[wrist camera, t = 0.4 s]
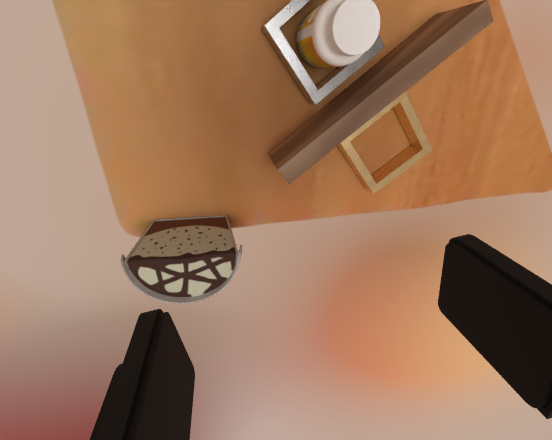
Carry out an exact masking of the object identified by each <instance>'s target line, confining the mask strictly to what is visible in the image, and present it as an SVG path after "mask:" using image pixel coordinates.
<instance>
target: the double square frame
mask: <svg viewBox="0 0 552 440" xmlns="http://www.w3.org/2000/svg"><path fill="white" fill-rule="evenodd" d="M309 1H310V0H292V1H291V2H290V3H289V4H288V5H287V6H285V7H284V8H283V9H282V10H281V11H280V12H279V13H278V14H277V15H276V16H275V17H274V18H272V19H271V20H270V21H269V22H268V23H267V24H266V25H265V26H264V27H263V28H262V31H263V32H264V34H265V35H266V37H267V39H268V40H269V42H270V43H271V45H272V46H273V48H274V49H275V51H276V52H277V54H278V55H279V57H280V58H281V60H282V61H283V63H284V64H285V66H286V68H287V69H288V71H289V72H290V74H291V75H292V77H293V78H294V80H295V81H296V83H297V84H298V86H299V87H300V89H301V90H302V92H303V94H304V95H305V97H306V98H307V100H308V101H309V103H312V104H315V105H316V104H317V103H318V102H319V101H321V100H322V99H323V98H324V97H325V96H327V95H328V94H329V93H330V92H331V91H333V90H334V89H335V88H336V87H337V86H339V85H340V84H341V83H342V82H343V81H345V80H346V79H347V78H348V77H349V76H351V75H352V74H353V73H354V72H355V71H357V70H358V69H359V68H360V67H361V66H363V65H364V64H365V63H366V62H367V61H369V60H370V59H371V58H372V57H373V56H375V55H376V54H377V53H378V52H379V51H380V50H382V49H383V48H384V45H383V43H382V41H381V39H380V36H379V34H378V36H377V39H376V41H375V42H374V44H373V45H372V46H371V48H370V49H368V50H367V51H366V52H364V54H363V55H362V56H361V57H360V58H359V59H358V60H356V61H355V62H353V63H351V64H349V65H345V66H339V67H338V68H337V69H335V70H334V71H333V72H332V73H331V74H329V75H328V76H327V77H326V78H325V79H324V80H322V81H321V82H320V83H319V84H318V85H316V86H315V85H314V83H313V82H312V80H311V78H310V77H309V75H308V74H307V72H306V70H305V69H304V67H303V66H302V64H301V62H300V61H299V59H298V58H297V56H296V54H295V53H294V51H293V50H292V48H291V46H290V45H289V43H288V42H287V40H286V38H285V37H284V35H283V34H282V32H281V30H280V29H279V28H280V27H281V26H282V25H283V24H284V23H285V22H287V21H288V20H289V19H290V18H291V17H292V16H293V15H294V14H295V13H296V12H298V11H299V10H300V9H301V8H302V7H303V6H304V5H305V4H306V3H307V2H309ZM392 108H393V109H394V111H395V113H396V115H397V117H398V119H399V121H400V123H401V125H402V127H403V129H404V131H405V133H406V135H407V137H408V139H409V141H410V143H411V145H410V146H409V147H408V148H406V149H405V150H404V151H403V152H401V153H400V154H399V155H397V156H396V157H395V158H393V159H392V160H391V161H389V162H388V163H387V164H385V165H384V166H383V167H381V168H380V169H379V170H378V171H376V172H375V173H374V174H372V175H371V174H370V173H369V171H368V170H367V168H366V166H365V165H364V163H363V162H362V160H361V158H360V157H359V155H358V154H357V152H356V150H355V149H354V147H353V146H352V144H351V142H350V141H351V140H353V139H354V138H355V137H356V136H358V135H359V134H360V133H361V132H363V131H364V130H365V129H366V128H368V127H369V126H370V125H371V124H373V123H374V122H375V121H377V120H378V119H379V118H380V117H382V116H383V115H384V114H385V113H387V112H388V111H389V110H390V109H392ZM338 147H339V149H340V150H341V152H342V153H343V155H344V156H345V158H346V159H347V161H348V162H349V164H350V165H351V167H352V168H353V170H354V171H355V173H356V174H357V176H358V178H359V179H360V181H361V182H362V184H363V185H364V187H365V188H366V189H367V190H369V191H370V192H371V193H373V194H374V193H376V192H377V191H378V190H380V189H381V188H383V187H384V186H385V185H387V184H388V183H389V182H391V181H392V180H393V179H395V178H396V177H397V176H399V175H400V174H401V173H403V172H404V171H405V170H407V169H408V168H409V167H411V166H412V165H413V164H415V163H416V162H417V161H419V160H420V159H421V158H423V157H424V156H425V155H427V154H428V153H429V152H431V151H432V150H433V149H432V147H431V145H430V143H429V141H428V139H427V137H426V134H425V132H424V130H423V128H422V126H421V124H420V122H419V120H418V117H417V115H416V113H415V111H414V109H413V107H412V105H411V103H410V100H409V98H408V96H407V94H406V92H404V93H403V94H401V95H400V96H399V97H398V98H396V99H395V100H394V101H393V102H391V103H390V104H389V105H388V106H386V107H385V108H384V109H383V110H381V111H380V112H379V113H378V114H376V115H375V116H374V117H373V118H371V119H370V120H369V121H368V122H366V123H365V124H364V125H362V126H361V127H360V128H359V129H357V130H356V131H355V132H354V133H352V134H351V135H350V136H349V137H347V138H346V139H345V140H344V141H342V142H341V143H340V144H339V145H338Z"/></svg>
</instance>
